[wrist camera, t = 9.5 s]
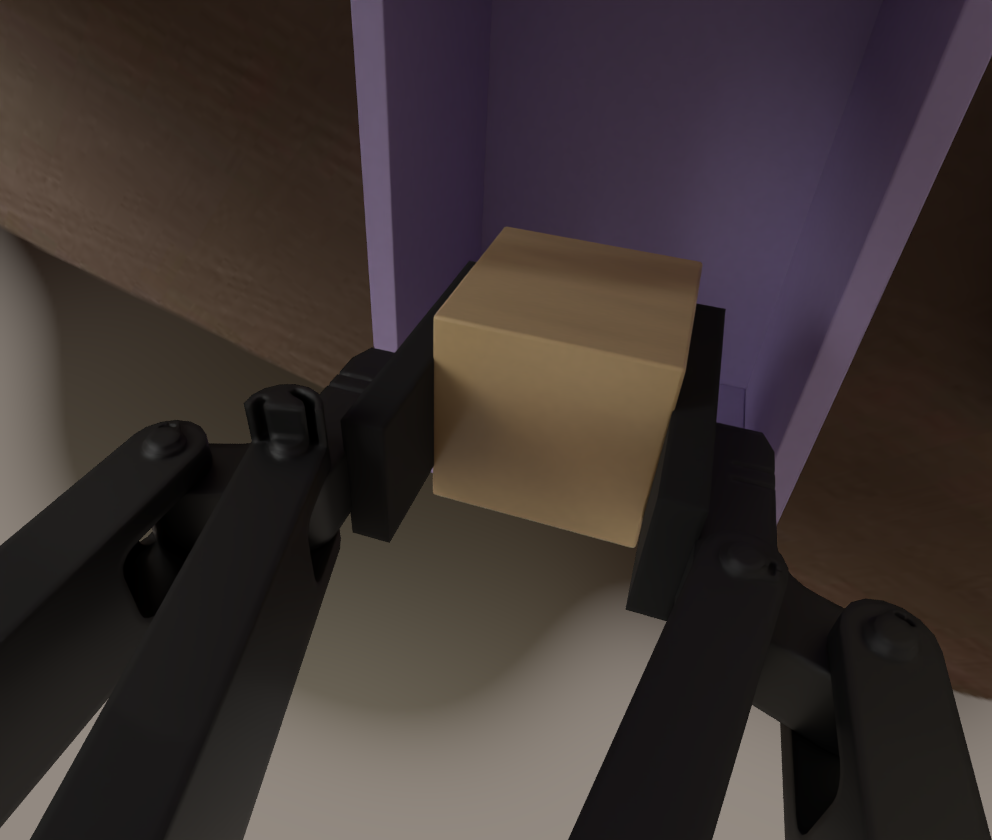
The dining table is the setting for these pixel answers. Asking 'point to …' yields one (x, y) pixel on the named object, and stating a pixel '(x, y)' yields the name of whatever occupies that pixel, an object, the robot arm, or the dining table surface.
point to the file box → (671, 160)
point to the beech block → (560, 380)
